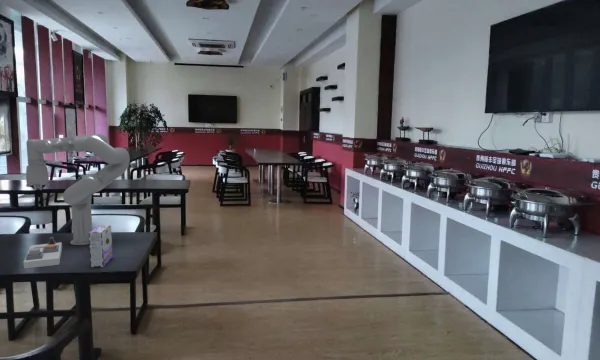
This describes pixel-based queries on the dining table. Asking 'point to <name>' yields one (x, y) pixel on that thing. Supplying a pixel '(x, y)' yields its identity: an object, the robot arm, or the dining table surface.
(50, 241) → the dark slider
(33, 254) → the grey button
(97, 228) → the candy box
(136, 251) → the dining table surface
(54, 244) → the terracotta button
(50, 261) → the panel
